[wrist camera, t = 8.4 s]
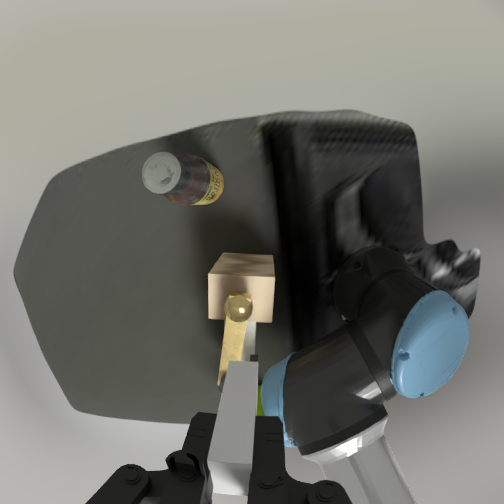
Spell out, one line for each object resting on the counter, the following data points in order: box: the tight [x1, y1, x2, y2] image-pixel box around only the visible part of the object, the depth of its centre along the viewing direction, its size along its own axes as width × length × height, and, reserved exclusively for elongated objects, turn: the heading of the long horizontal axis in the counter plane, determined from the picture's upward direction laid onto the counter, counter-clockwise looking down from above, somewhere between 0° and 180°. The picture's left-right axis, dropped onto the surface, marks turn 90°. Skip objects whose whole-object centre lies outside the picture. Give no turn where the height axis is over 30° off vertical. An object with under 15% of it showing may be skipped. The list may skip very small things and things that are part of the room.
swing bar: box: [218, 291, 253, 392], centre depth 32 cm, size 13×3×3 cm, turn 171°
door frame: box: [208, 253, 275, 362], centre depth 40 cm, size 8×20×15 cm, turn 178°
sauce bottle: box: [142, 151, 224, 205], centre depth 33 cm, size 7×6×20 cm
